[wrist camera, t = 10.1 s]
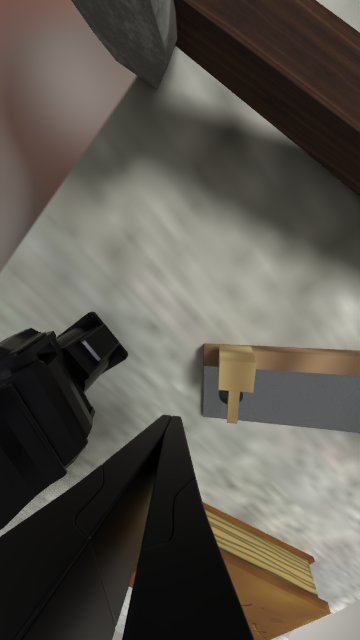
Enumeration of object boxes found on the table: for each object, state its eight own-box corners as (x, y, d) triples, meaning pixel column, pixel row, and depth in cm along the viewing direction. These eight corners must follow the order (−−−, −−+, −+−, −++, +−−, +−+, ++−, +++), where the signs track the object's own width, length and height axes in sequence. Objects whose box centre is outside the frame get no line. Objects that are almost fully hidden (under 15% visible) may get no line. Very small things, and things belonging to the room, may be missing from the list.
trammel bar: (203, 397, 24) (201, 426, 20) (204, 339, 22) (202, 359, 18) (484, 422, 20) (549, 464, 16) (526, 353, 17) (615, 384, 14)
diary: (135, 537, 38) (122, 585, 33) (177, 484, 31) (168, 533, 26) (245, 594, 38) (250, 650, 33) (312, 553, 31) (331, 616, 26)
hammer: (442, 212, 18) (127, -32, 14) (774, 190, 8) (-73, -874, 3) (394, 262, 20) (102, 62, 15) (614, 297, 10) (-78, -285, 5)
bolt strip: (203, 413, 25) (203, 417, 25) (204, 363, 23) (203, 366, 22) (473, 440, 21) (481, 446, 20) (509, 382, 18) (518, 386, 18)
